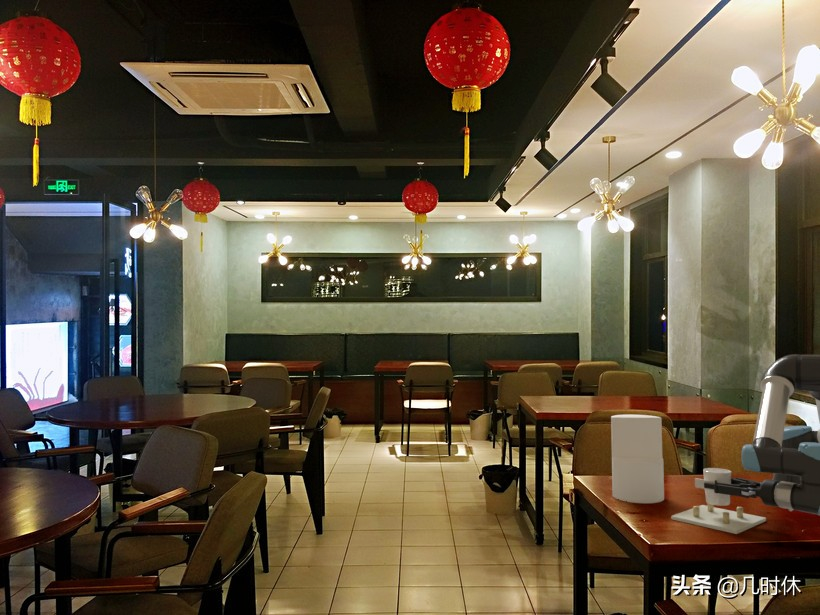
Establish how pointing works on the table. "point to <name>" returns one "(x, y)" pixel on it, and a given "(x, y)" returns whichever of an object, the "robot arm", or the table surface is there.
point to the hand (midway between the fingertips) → (702, 480)
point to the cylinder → (637, 458)
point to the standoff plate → (719, 518)
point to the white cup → (721, 477)
